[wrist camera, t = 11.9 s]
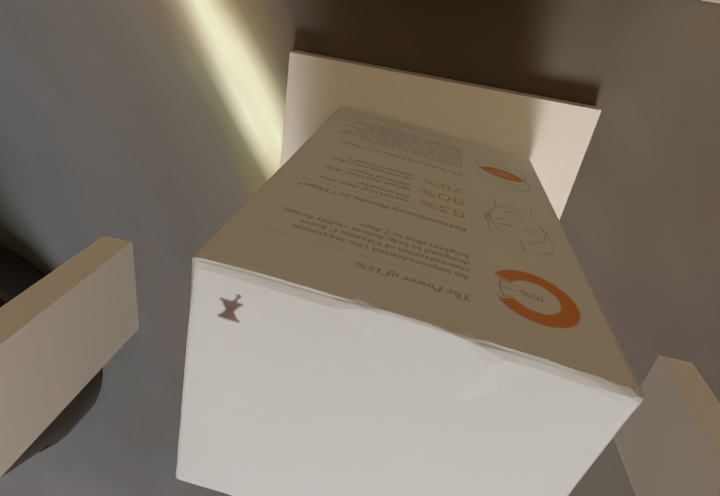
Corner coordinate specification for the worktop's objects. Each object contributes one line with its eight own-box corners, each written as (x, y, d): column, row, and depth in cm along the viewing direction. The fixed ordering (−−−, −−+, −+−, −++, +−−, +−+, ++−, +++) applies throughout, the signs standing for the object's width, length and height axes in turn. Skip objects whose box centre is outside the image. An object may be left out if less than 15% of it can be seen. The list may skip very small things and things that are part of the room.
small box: (310, 237, 23) (164, 483, 11) (340, 101, 20) (181, 248, 8) (479, 288, 22) (507, 593, 11) (535, 158, 19) (659, 393, 8)
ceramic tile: (278, 261, 24) (272, 269, 24) (295, 50, 20) (289, 51, 19) (517, 314, 23) (519, 324, 23) (596, 106, 19) (601, 110, 18)
